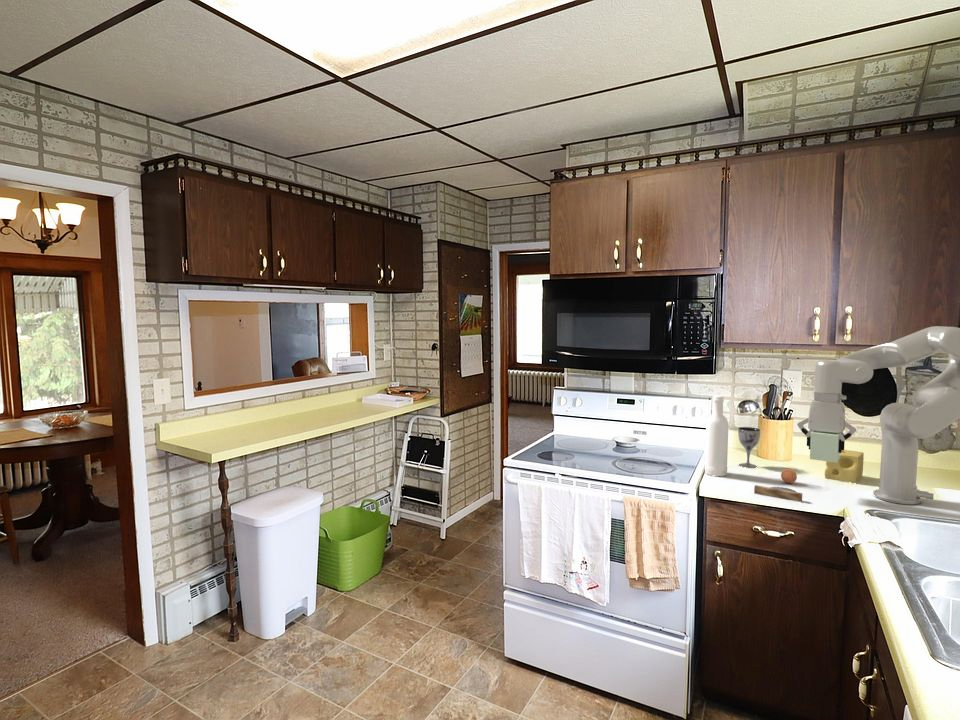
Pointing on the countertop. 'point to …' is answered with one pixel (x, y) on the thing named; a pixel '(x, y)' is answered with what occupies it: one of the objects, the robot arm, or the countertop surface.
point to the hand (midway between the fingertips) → (825, 450)
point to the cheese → (846, 467)
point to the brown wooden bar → (778, 493)
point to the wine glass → (748, 442)
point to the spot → (783, 488)
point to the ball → (788, 476)
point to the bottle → (716, 440)
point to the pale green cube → (824, 446)
